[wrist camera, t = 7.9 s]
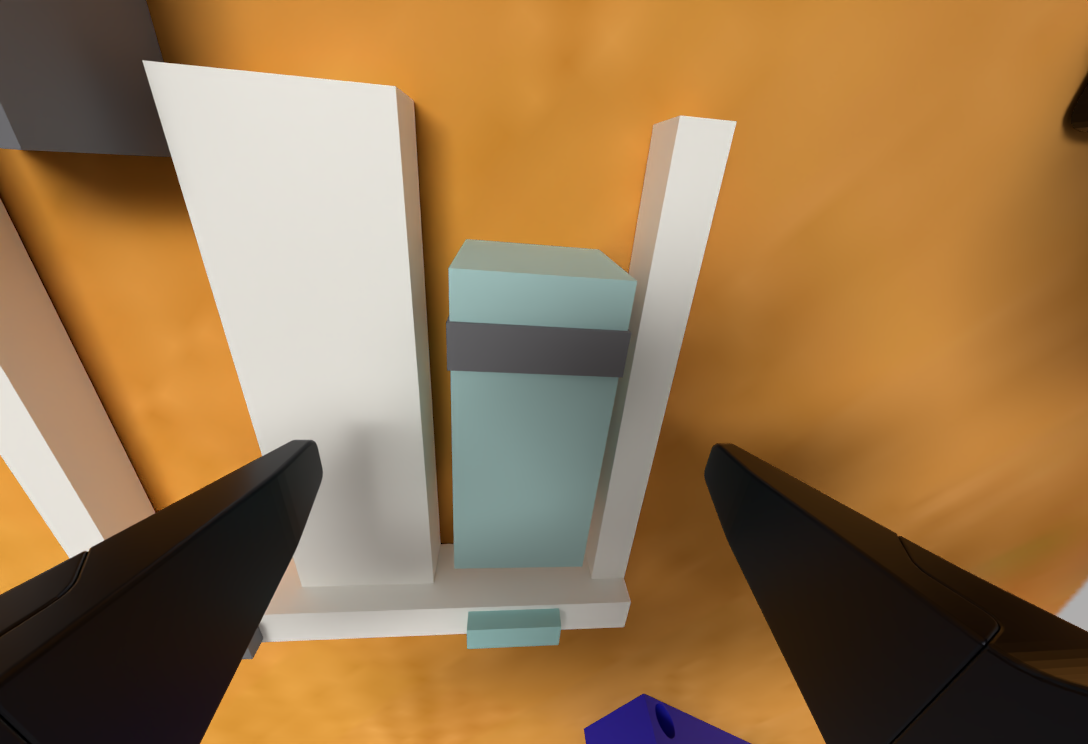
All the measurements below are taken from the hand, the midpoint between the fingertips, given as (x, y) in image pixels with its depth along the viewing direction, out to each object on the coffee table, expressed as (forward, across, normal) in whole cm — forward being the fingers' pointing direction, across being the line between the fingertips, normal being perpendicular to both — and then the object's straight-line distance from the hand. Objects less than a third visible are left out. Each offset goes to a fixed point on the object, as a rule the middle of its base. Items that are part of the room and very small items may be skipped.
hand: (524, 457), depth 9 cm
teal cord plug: (+4, 0, 0) cm, 4 cm away
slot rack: (+4, +5, 0) cm, 6 cm away
